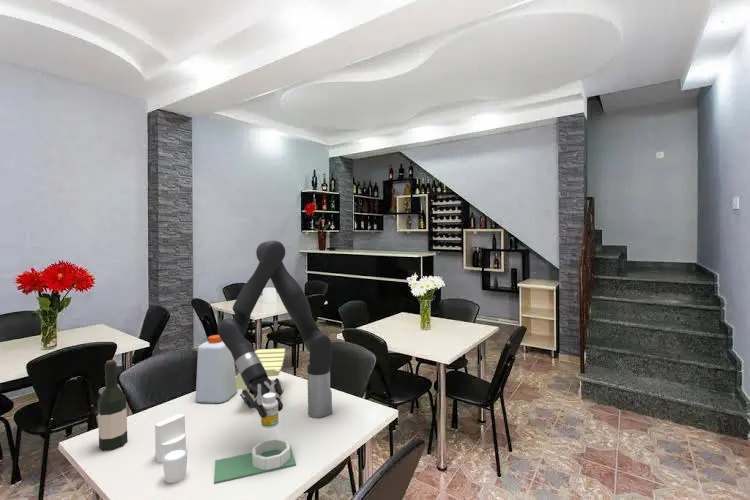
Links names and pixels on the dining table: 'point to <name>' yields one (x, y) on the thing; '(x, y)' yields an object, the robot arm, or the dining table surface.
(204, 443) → the dining table surface
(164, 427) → the cylinder with rectangular tab
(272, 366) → the slatted curved stool
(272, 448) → the green board with ring
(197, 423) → the dining table surface
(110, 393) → the wine bottle
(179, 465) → the white tapered cup
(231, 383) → the plastic bottle
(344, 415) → the dining table surface
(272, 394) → the supplement bottle
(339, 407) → the dining table surface
